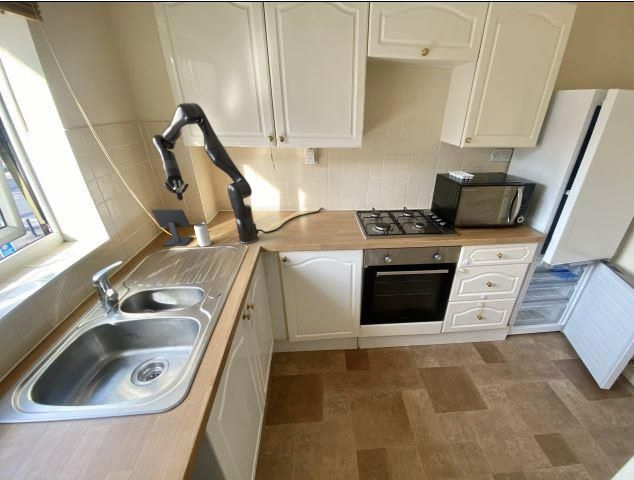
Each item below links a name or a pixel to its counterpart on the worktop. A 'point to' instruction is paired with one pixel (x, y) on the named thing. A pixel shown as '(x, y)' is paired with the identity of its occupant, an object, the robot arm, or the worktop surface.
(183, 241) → the monitor stand
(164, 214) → the screen
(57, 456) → the worktop surface
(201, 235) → the can
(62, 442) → the worktop surface
